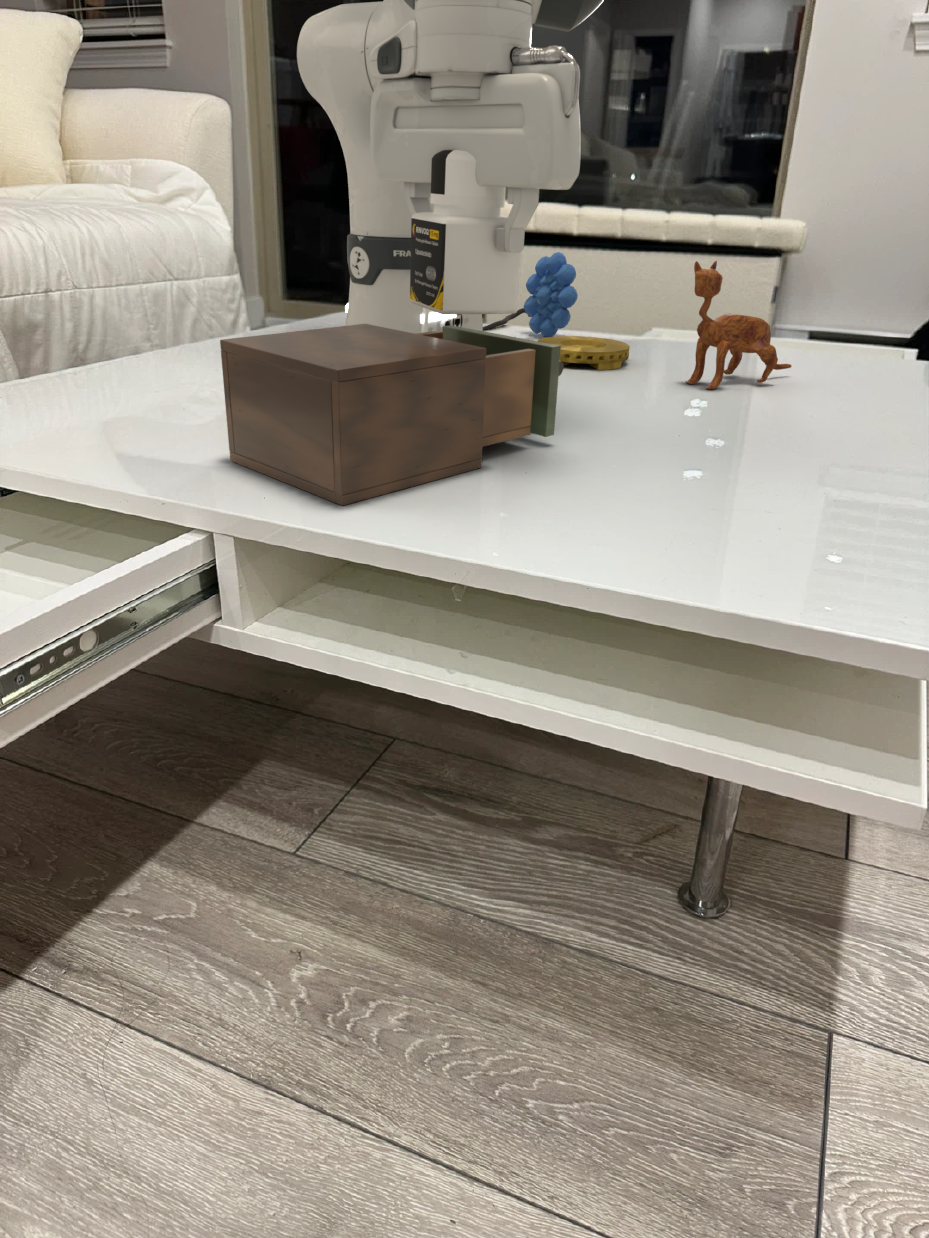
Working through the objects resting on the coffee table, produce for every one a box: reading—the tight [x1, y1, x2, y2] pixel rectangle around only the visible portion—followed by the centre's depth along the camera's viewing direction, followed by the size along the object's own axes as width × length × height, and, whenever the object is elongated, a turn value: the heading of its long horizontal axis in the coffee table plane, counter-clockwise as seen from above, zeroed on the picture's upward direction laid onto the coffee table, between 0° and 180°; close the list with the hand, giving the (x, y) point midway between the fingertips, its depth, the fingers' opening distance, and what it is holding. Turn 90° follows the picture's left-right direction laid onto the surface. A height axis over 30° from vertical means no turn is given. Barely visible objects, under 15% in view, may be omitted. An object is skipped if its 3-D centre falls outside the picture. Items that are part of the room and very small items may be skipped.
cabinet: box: [219, 324, 486, 506], centre depth 72 cm, size 15×15×10 cm
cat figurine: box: [685, 260, 792, 390], centre depth 106 cm, size 18×7×14 cm, turn 121°
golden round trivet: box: [537, 335, 631, 371], centre depth 118 cm, size 12×12×2 cm
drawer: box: [417, 325, 564, 448], centre depth 80 cm, size 18×13×8 cm
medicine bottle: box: [410, 150, 523, 315], centre depth 74 cm, size 7×7×12 cm
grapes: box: [523, 251, 579, 338], centre depth 132 cm, size 12×7×12 cm, turn 30°
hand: (466, 247), depth 75 cm, fingers closed on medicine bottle, 8 cm apart
